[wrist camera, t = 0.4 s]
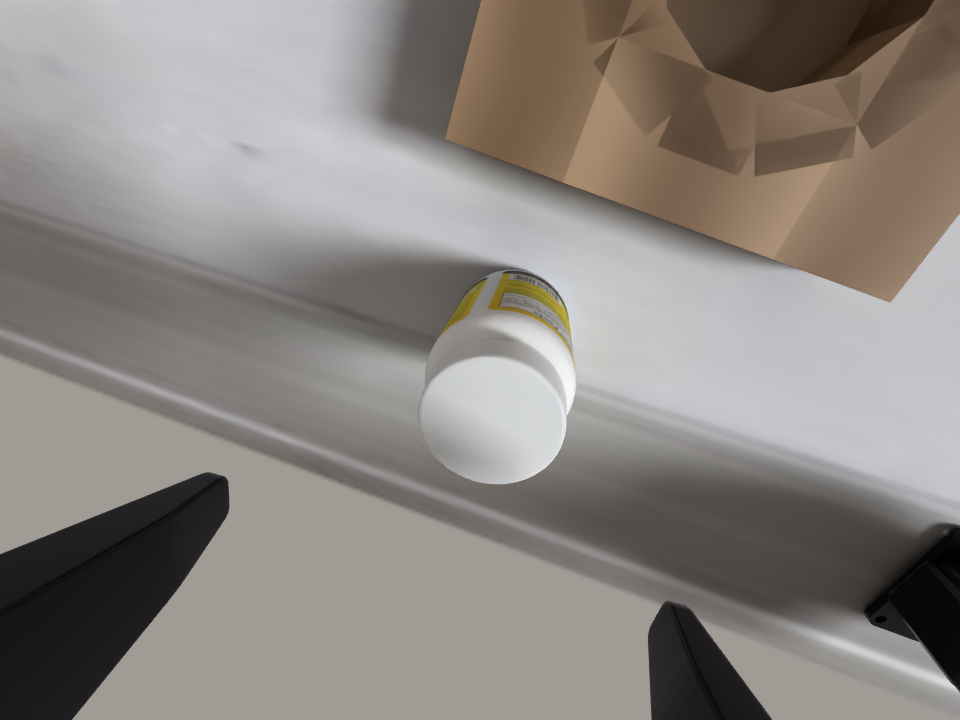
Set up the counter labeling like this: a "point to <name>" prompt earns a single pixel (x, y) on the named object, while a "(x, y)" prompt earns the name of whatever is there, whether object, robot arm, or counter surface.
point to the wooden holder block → (736, 119)
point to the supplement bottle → (500, 380)
